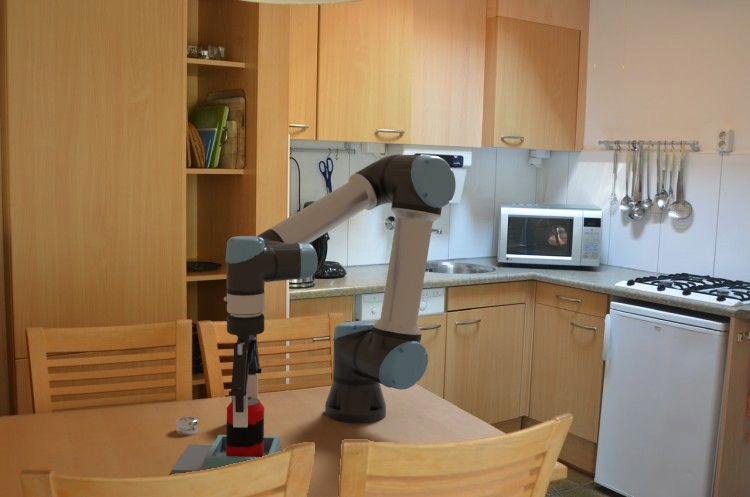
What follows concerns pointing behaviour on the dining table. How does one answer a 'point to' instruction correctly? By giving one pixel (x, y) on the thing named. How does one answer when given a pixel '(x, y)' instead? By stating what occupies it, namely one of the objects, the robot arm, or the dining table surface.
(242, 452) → the soda can
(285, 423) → the dining table surface
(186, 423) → the grooved metal pulley
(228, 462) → the dock
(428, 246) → the robot arm
